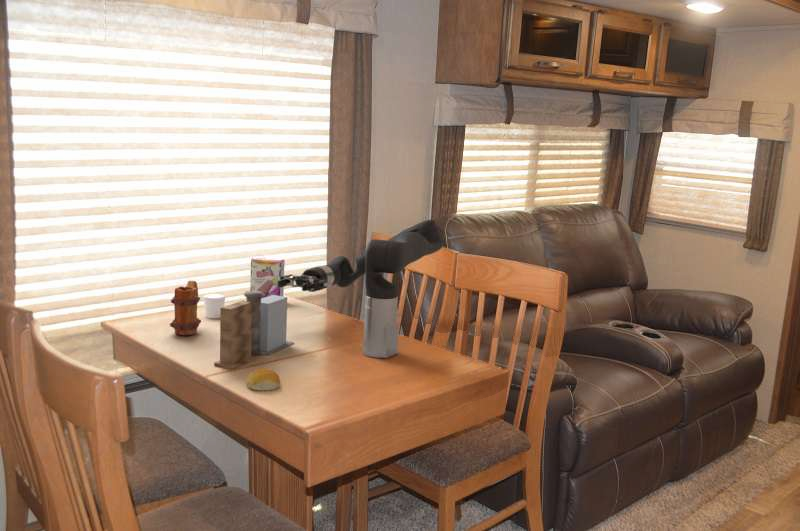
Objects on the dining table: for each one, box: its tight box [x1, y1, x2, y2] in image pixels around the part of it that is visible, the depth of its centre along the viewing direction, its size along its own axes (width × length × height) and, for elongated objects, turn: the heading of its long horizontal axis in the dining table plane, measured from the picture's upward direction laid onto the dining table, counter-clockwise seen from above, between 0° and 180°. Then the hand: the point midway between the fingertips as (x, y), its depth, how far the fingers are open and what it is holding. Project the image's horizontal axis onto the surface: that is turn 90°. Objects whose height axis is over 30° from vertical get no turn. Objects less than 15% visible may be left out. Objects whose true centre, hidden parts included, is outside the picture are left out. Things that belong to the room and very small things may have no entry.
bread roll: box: [245, 368, 281, 392], centre depth 187 cm, size 8×9×4 cm
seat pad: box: [260, 340, 295, 356], centre depth 219 cm, size 14×8×1 cm, turn 157°
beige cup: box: [203, 293, 226, 319], centre depth 249 cm, size 7×7×7 cm
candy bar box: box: [249, 256, 286, 299], centre depth 268 cm, size 11×5×16 cm, turn 82°
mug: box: [169, 280, 202, 336], centre depth 229 cm, size 15×8×15 cm, turn 179°
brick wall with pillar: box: [213, 290, 263, 370], centre depth 205 cm, size 16×6×18 cm, turn 156°
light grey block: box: [260, 295, 288, 352], centre depth 218 cm, size 5×10×14 cm, turn 156°
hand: (290, 285), depth 228 cm, fingers open, 8 cm apart
